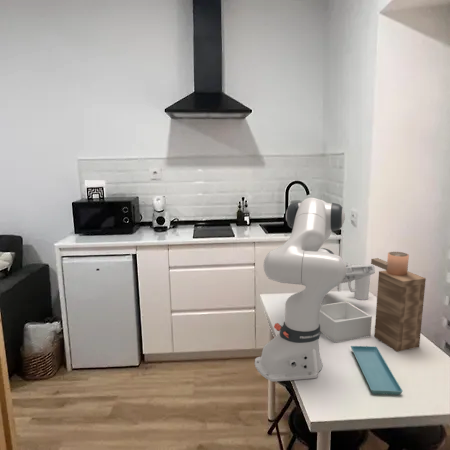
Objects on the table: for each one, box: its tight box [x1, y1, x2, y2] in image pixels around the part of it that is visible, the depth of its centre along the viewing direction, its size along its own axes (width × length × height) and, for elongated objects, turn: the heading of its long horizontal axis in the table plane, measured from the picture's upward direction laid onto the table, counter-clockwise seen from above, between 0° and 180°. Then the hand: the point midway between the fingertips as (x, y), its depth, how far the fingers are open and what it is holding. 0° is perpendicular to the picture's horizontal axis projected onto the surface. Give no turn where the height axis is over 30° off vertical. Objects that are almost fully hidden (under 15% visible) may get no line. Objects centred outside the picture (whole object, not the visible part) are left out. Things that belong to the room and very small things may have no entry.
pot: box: [370, 251, 410, 276], centre depth 153 cm, size 16×7×7 cm, turn 19°
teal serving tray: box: [350, 345, 403, 396], centre depth 133 cm, size 26×9×2 cm, turn 176°
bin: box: [319, 301, 373, 343], centre depth 161 cm, size 16×16×8 cm
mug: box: [347, 275, 371, 301], centre depth 195 cm, size 10×7×12 cm, turn 92°
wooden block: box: [374, 270, 427, 352], centre depth 150 cm, size 10×12×26 cm
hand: (362, 268), depth 170 cm, fingers open, 8 cm apart
